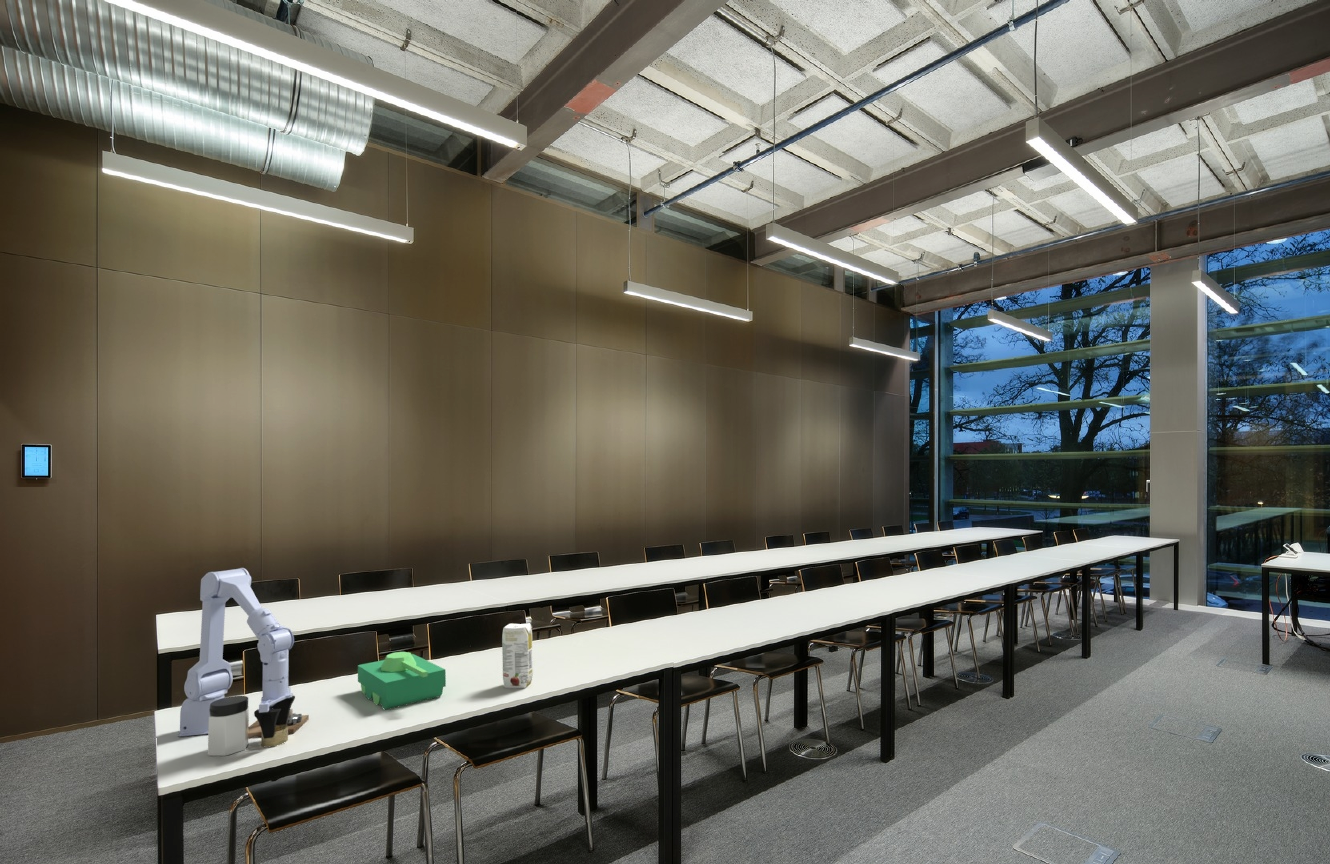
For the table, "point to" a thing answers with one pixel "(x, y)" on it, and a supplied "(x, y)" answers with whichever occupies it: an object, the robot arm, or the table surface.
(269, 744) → the gear ring
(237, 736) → the jar
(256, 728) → the gear board
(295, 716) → the gear
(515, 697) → the table surface
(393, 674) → the toy tank
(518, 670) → the juice carton
